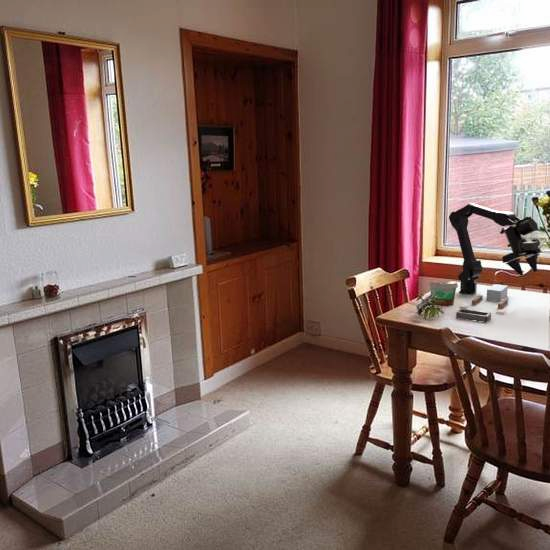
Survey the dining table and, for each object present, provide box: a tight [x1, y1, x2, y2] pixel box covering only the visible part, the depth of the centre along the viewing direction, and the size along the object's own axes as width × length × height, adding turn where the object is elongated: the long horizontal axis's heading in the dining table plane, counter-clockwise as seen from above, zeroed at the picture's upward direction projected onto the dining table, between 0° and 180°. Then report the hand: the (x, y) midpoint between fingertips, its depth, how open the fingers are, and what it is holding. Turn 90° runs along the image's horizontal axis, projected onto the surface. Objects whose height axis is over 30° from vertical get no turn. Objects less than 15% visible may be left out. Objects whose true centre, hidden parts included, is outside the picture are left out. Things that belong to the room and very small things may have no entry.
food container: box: [428, 280, 459, 307], centre depth 243 cm, size 12×6×10 cm, turn 71°
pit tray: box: [455, 308, 492, 323], centre depth 224 cm, size 12×6×2 cm, turn 55°
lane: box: [471, 294, 509, 310], centre depth 244 cm, size 12×11×2 cm
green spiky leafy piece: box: [415, 293, 444, 321], centre depth 227 cm, size 11×11×12 cm
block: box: [485, 283, 509, 302], centre depth 254 cm, size 6×12×5 cm, turn 144°
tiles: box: [459, 304, 506, 315], centre depth 234 cm, size 18×3×1 cm, turn 55°
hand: (528, 273), depth 238 cm, fingers open, 9 cm apart
